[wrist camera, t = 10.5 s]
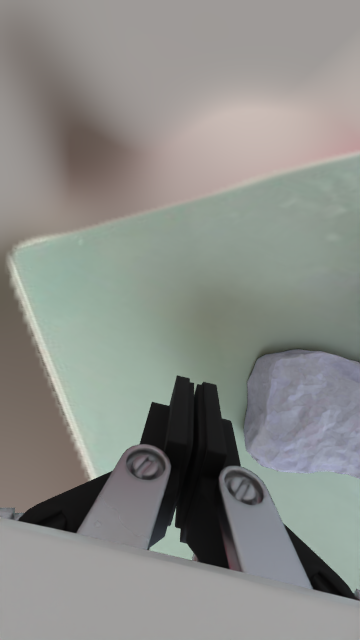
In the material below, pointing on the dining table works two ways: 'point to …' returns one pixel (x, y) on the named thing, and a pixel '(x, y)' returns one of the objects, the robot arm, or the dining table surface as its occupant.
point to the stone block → (304, 412)
